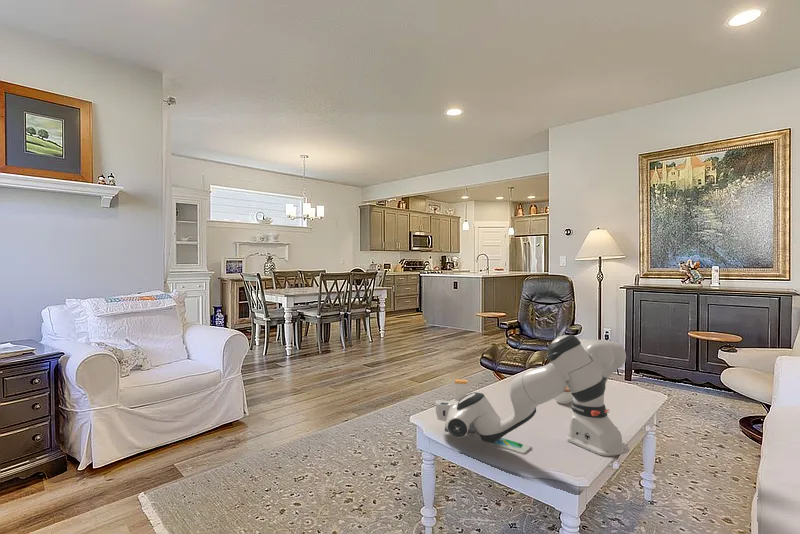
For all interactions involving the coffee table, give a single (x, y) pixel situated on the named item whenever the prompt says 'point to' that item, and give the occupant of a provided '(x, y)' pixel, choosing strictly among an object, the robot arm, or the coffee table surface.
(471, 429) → the board
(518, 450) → the smartphone
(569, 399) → the lidded jar
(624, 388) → the coffee table surface
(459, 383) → the fader tab
